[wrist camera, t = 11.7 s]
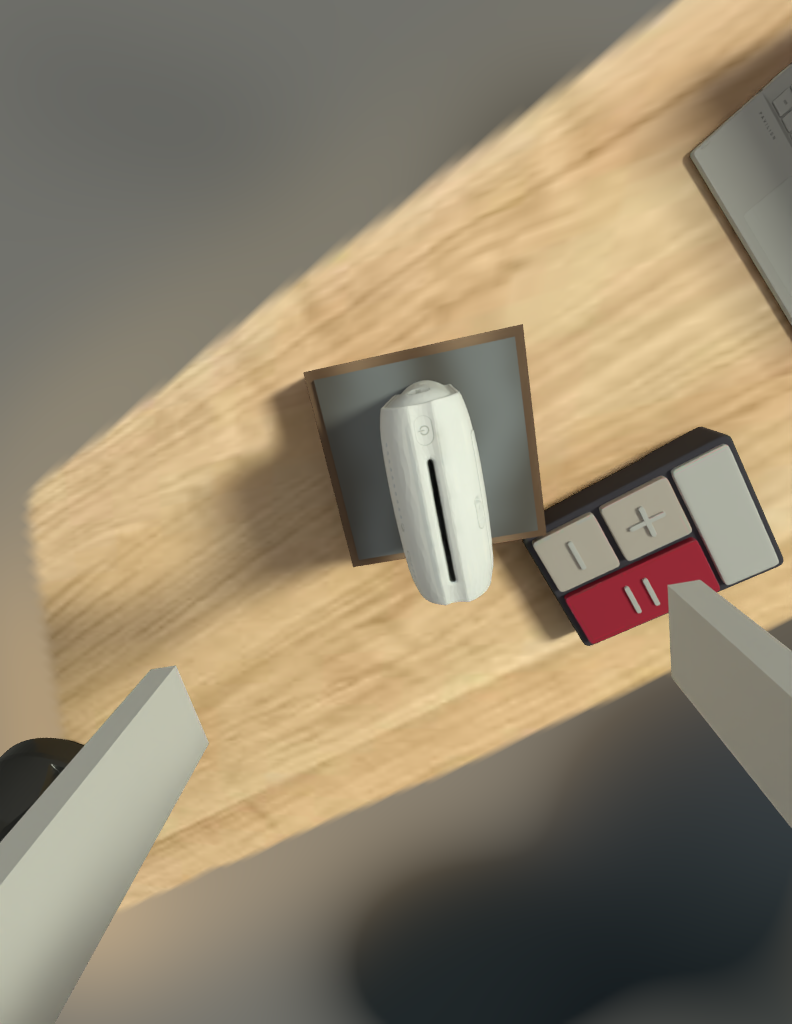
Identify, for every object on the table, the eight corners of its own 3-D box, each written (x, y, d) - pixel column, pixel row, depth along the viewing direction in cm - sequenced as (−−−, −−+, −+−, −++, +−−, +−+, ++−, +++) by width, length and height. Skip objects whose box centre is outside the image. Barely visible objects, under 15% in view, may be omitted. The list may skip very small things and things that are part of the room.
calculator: (522, 542, 33) (736, 434, 29) (514, 521, 37) (701, 423, 33) (589, 654, 36) (794, 568, 32) (574, 623, 40) (755, 543, 36)
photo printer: (386, 386, 29) (361, 404, 18) (453, 371, 29) (473, 381, 17) (417, 534, 32) (413, 633, 21) (478, 523, 32) (509, 619, 20)
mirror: (360, 545, 38) (352, 568, 34) (317, 370, 34) (302, 372, 29) (533, 516, 36) (547, 536, 32) (511, 328, 32) (523, 323, 28)
